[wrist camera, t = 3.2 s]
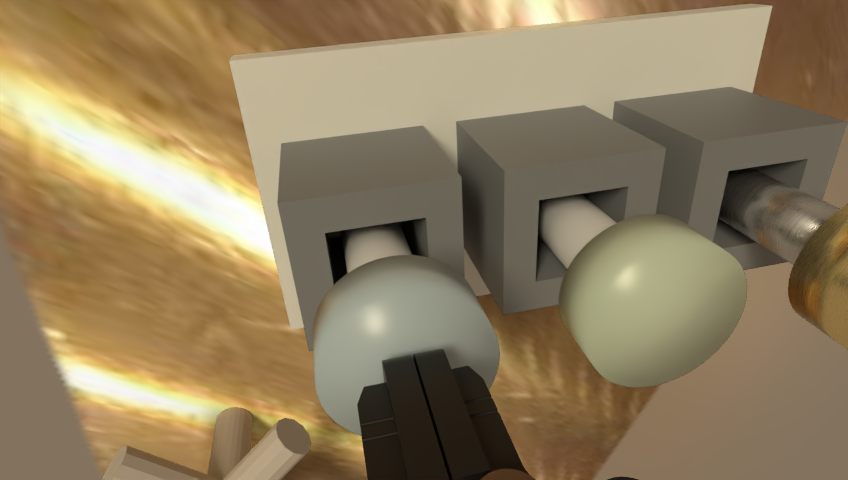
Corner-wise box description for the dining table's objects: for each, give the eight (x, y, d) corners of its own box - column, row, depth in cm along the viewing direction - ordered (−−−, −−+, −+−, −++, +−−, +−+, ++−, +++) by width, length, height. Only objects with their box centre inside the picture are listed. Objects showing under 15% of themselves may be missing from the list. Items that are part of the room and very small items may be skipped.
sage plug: (487, 151, 20) (595, 260, 13) (601, 135, 21) (765, 231, 14) (488, 257, 22) (581, 401, 15) (591, 240, 23) (727, 369, 16)
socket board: (232, 55, 20) (206, 99, 14) (751, 3, 23) (910, 20, 17) (291, 314, 26) (290, 424, 20) (700, 242, 29) (806, 317, 23)
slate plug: (296, 176, 19) (299, 313, 12) (424, 159, 20) (500, 278, 12) (317, 285, 21) (330, 456, 14) (431, 266, 22) (499, 419, 15)
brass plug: (670, 133, 20) (874, 230, 13) (775, 118, 21) (1024, 203, 14) (652, 239, 23) (819, 371, 15) (749, 222, 23) (951, 342, 16)
